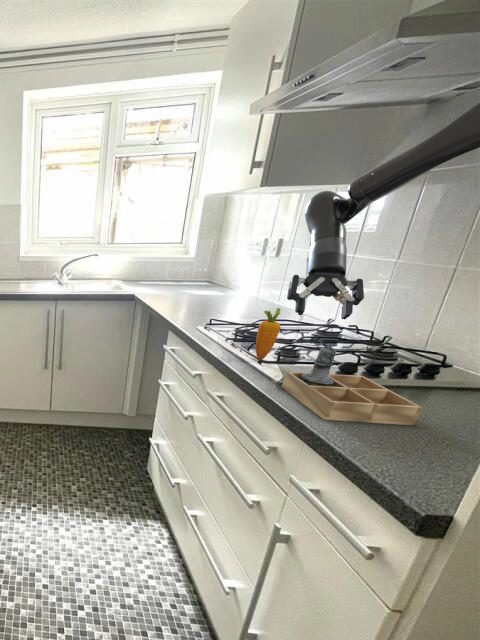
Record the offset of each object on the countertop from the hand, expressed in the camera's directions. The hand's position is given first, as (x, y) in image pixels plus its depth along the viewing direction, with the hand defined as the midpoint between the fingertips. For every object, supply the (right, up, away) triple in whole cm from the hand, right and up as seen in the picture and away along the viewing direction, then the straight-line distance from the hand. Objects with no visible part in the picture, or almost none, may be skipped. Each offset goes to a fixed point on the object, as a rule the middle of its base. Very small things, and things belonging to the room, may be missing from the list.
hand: (322, 315), depth 99 cm
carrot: (-2, -10, +19) cm, 21 cm away
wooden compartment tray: (-2, -21, -7) cm, 22 cm away
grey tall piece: (-5, -19, -3) cm, 20 cm away
